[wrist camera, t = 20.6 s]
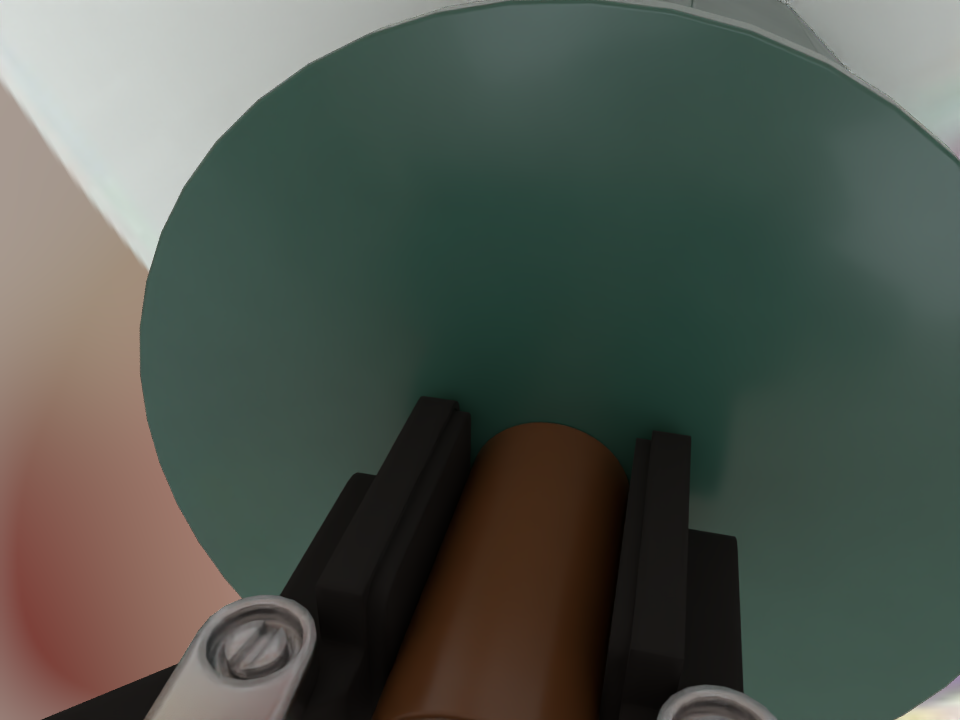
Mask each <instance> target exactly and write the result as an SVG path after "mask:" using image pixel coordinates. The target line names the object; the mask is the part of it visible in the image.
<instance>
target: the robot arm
mask: <svg viewBox="0 0 960 720" xmlns="http://www.w3.org/2000/svg"><path fill="white" fill-rule="evenodd" d="M470 453H471V415H470V413H469V412H463V411H460V407H459V403H458V402H457V401H454V400H447V399H441V398H434V397H427V396H421V397H420V398H419V400H418V401H417V403H416V405H415V407H414V408H413V410H412V412H411V414H410V416H409V417H408V419H407V421H406V423H405V425H404V426H403V428H402V430H401V432H400V434H399V435H398V437H397V439H396V441H395V443H394V444H393V446H392V448H391V450H390V452H389V453H388V455H387V457H386V459H385V461H384V462H383V464H382V466H381V468H380V470H379V471H378V473H377V475H371V474H365V473H359V472H357V473H355V474H353V475H352V476H351V478H350V479H349V480H348V482H347V483H346V485H345V487H344V488H343V490H342V492H341V493H340V495H339V497H338V498H337V500H336V502H335V503H334V505H333V507H332V509H331V510H330V512H329V514H328V515H327V517H326V519H325V520H324V522H323V524H322V525H321V527H320V529H319V530H318V532H317V534H316V535H315V537H314V539H313V540H312V542H311V544H310V545H309V547H308V549H307V550H306V552H305V554H304V555H303V557H302V559H301V560H300V562H299V564H298V565H297V567H296V569H295V571H294V572H293V574H292V576H291V577H290V579H289V581H288V582H287V584H286V586H285V587H284V589H283V591H282V592H281V594H280V596H279V595H258V596H252V597H247V598H242V599H240V600H238V601H235V602H233V603H231V604H228V605H226V606H224V607H223V608H221V609H220V610H219V611H217V612H216V613H214V614H213V615H212V616H210V617H209V619H208V620H207V621H206V622H205V623H204V625H203V626H202V627H201V628H200V629H199V631H198V632H197V634H196V636H195V637H194V639H193V641H192V642H191V644H190V645H189V647H188V649H187V650H186V652H185V654H184V655H183V657H182V658H181V660H180V662H179V663H178V664H176V665H173V666H171V667H169V668H166V669H164V670H161V671H159V672H156V673H154V674H152V675H149V676H147V677H144V678H142V679H139V680H137V681H135V682H132V683H130V684H127V685H125V686H122V687H120V688H117V689H115V690H113V691H110V692H108V693H105V694H103V695H101V696H98V697H96V698H93V699H91V700H88V701H86V702H83V703H82V704H79V705H76V706H74V707H71V708H69V709H67V710H64V711H62V712H59V713H57V714H54V715H52V716H49V717H47V718H45V719H42V720H371V719H372V716H373V714H374V711H375V709H376V706H377V704H378V701H379V699H380V696H381V694H382V691H383V689H384V686H385V684H386V681H387V679H388V676H389V674H390V671H391V669H392V666H393V664H394V661H395V659H396V656H397V654H398V651H399V649H400V646H401V644H402V641H403V639H404V636H405V634H406V631H407V629H408V626H409V624H410V621H411V619H412V616H413V614H414V611H415V609H416V606H417V604H418V601H419V599H420V596H421V594H422V591H423V589H424V586H425V584H426V581H427V579H428V576H429V574H430V571H431V569H432V566H433V564H434V561H435V559H436V556H437V554H438V551H439V549H440V546H441V544H442V541H443V539H444V536H445V534H446V531H447V529H448V526H449V524H450V521H451V519H452V516H453V514H454V511H455V509H456V506H457V504H458V501H459V499H460V496H461V494H462V491H463V489H464V486H465V484H466V481H467V479H468V476H469V474H470ZM690 465H691V436H688V435H681V434H675V433H668V432H661V431H655V430H653V432H652V437H651V440H647V439H641V438H636V444H635V451H634V458H633V465H632V472H631V479H630V486H629V493H628V500H627V508H626V516H625V523H624V531H623V538H622V546H621V553H620V561H619V569H618V576H617V584H616V591H615V599H614V607H613V614H612V622H611V629H610V637H609V644H608V652H607V660H606V667H605V675H604V682H603V690H602V697H601V705H600V713H599V720H777V719H776V718H775V717H774V716H773V714H772V713H771V712H770V711H769V710H768V709H767V708H766V707H765V706H763V705H762V704H760V703H759V702H757V701H756V700H754V699H753V698H751V697H750V696H748V695H746V694H744V688H743V664H742V640H741V615H740V591H739V567H738V546H737V539H736V537H735V536H729V535H723V534H717V533H712V532H706V531H700V530H694V529H688V526H689V495H690Z"/></svg>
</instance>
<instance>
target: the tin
mask: <svg viewBox="0 0 960 720" xmlns="http://www.w3.org/2000/svg"><path fill="white" fill-rule="evenodd" d="M654 1H663V2H671V3H676V4H679V5H683V6H687V7H690V8H694V9H698V10H702V11H705V12H709V13H713V14H716V15H720V16H724V17H727V18H731V19H735V20H738V21H742V22H746V23H749V24H752V25H754V26H757V27H759V28H761V29H764V30H766V31H768V32H771V33H773V34H775V35H777V36H780V37H782V38H784V39H787V40H789V41H791V42H794V43H796V44H798V45H801V46H803V47H805V48H807V49H810V50H812V51H814V52H817V53H819V54H821V55H824V56H825V57H827V58H828V59H830V60H832V61H833V62H835V63H836V64H838V65H840V66H841V67H843V68H844V69H846V68H845V67H844V65H843V64H842V63H841V62H840V61H839V60H838V59H837V58H836V57H835V55H834V54H833V53H832V52H831V51H830V50H829V49H828V48H827V47H826V46H825V44H824V43H823V42H822V41H821V40H820V39H819V38H818V36H817V35H816V34H815V33H814V32H813V31H812V30H811V29H810V28H809V27H808V26H807V24H806V23H805V22H804V21H803V20H802V19H801V18H800V17H799V16H798V15H797V13H796V12H795V11H794V10H793V9H792V8H789V6H788V5H787V4H785V3H783V2H781V1H779V0H654ZM846 70H847V69H846Z"/></svg>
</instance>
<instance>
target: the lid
mask: <svg viewBox="0 0 960 720" xmlns="http://www.w3.org/2000/svg"><path fill="white" fill-rule="evenodd" d="M140 377H141V383H142V390H143V396H144V402H145V408H146V409H145V410H146V416H147V421H148V425H149V428H150V432H151V435H152V439H153V442H154V446H155V449H156V453H157V456H158V459H159V463H160V465H161V467H162V470H163V472H164V475H165V477H166V479H167V482H168V484H169V486H170V488H171V491H172V493H173V495H174V498H175V500H176V503H177V505H178V506H179V508H180V510H181V512H182V514H183V515H184V517H185V519H186V521H187V522H188V524H189V526H190V528H191V529H192V531H193V533H194V535H195V537H196V538H197V540H198V542H199V543H200V545H201V546H202V547H203V549H204V550H205V552H206V553H207V555H208V556H209V557H210V558H211V560H212V561H213V563H214V564H215V565H216V567H217V568H218V569H219V571H220V573H221V574H222V575H223V577H224V578H225V579H226V581H227V582H228V583H229V584H230V585H231V586H232V587H233V589H235V591H236V592H237V593H238V594H239V595H240V596H241V598H247V597H252V596H258V595H279V596H280V594H281V592H282V591H283V589H284V587H285V586H286V584H287V582H288V581H289V579H290V577H291V576H292V574H293V572H294V571H295V569H296V567H297V565H298V564H299V562H300V560H301V559H302V557H303V555H304V554H305V552H306V550H307V549H308V547H309V545H310V544H311V542H312V540H313V539H314V537H315V535H316V534H317V532H318V530H319V529H320V527H321V525H322V524H323V522H324V520H325V519H326V517H327V515H328V514H329V512H330V510H331V509H332V507H333V505H334V503H335V502H336V500H337V498H338V497H339V495H340V493H341V492H342V490H343V488H344V487H345V485H346V483H347V482H348V480H349V479H350V478H351V476H352V475H353V474H355V473H357V472H359V473H365V474H371V475H377V473H378V471H379V470H380V468H381V466H382V464H383V462H384V461H385V459H386V457H387V455H388V453H389V452H390V450H391V448H392V446H393V444H394V443H395V441H396V439H397V437H398V435H399V434H400V432H401V430H402V428H403V426H404V425H405V423H406V421H407V419H408V417H409V416H410V414H411V412H412V410H413V408H414V407H415V405H416V403H417V401H418V400H419V398H420V397H421V396H427V397H434V398H441V399H447V400H454V401H457V402H458V403H459V407H460V411H463V412H469V413H470V415H471V453H470V474H469V476H468V479H467V481H466V484H465V486H464V489H463V491H462V494H461V496H460V499H459V501H458V504H457V506H456V509H455V511H454V514H453V516H452V519H451V521H450V524H449V526H448V529H447V531H446V534H445V536H444V539H443V541H442V544H441V546H440V549H439V551H438V554H437V556H436V559H435V561H434V564H433V566H432V569H431V571H430V574H429V576H428V579H427V581H426V584H425V586H424V589H423V591H422V594H421V596H420V599H419V601H418V604H417V606H416V609H415V611H414V614H413V616H412V619H411V621H410V624H409V626H408V629H407V631H406V634H405V636H404V639H403V641H402V644H401V646H400V649H399V651H398V654H397V656H396V659H395V661H394V664H393V666H392V669H391V671H390V674H389V676H388V679H387V681H386V684H385V686H384V689H383V691H382V694H381V696H380V699H379V701H378V704H377V706H376V709H375V711H374V714H373V716H372V719H371V720H599V713H600V705H601V697H602V690H603V682H604V675H605V667H606V660H607V652H608V644H609V637H610V629H611V622H612V614H613V607H614V599H615V591H616V584H617V576H618V569H619V561H620V553H621V546H622V538H623V531H624V523H625V516H626V508H627V500H628V493H629V486H630V479H631V472H632V465H633V458H634V451H635V444H636V438H641V439H647V440H651V437H652V432H653V430H655V431H661V432H668V433H675V434H681V435H688V436H691V465H690V495H689V526H688V529H694V530H700V531H706V532H712V533H717V534H723V535H729V536H735V537H736V539H737V546H738V567H739V591H740V615H741V640H742V664H743V688H744V694H746V695H748V696H750V697H751V698H753V699H754V700H756V701H757V702H759V703H760V704H762V705H763V706H765V707H766V708H767V709H768V710H769V711H770V712H771V713H772V714H773V716H774V717H775V718H776V719H777V720H895V719H897V718H899V717H901V716H903V715H905V714H906V713H908V712H909V711H911V710H912V709H914V708H915V707H917V706H918V705H920V704H921V703H923V702H924V701H926V700H927V699H929V698H930V697H932V696H933V695H935V694H936V693H938V692H939V691H941V690H942V689H944V688H945V687H946V686H947V685H949V684H950V683H951V682H952V681H953V680H954V679H955V678H957V677H958V676H959V675H960V160H959V159H958V157H957V156H956V155H955V154H954V153H953V152H952V151H951V150H950V148H949V147H948V146H947V145H946V144H944V143H943V142H942V141H941V140H940V139H939V138H937V137H936V136H935V135H934V134H933V133H932V132H930V131H929V130H928V129H927V128H926V127H925V126H923V125H922V124H921V123H920V122H919V121H918V120H916V119H915V118H914V117H913V116H912V115H911V114H909V113H908V112H907V111H906V110H905V109H904V108H902V107H901V106H900V105H899V104H898V103H897V102H895V101H894V100H893V99H892V98H891V97H890V96H888V95H886V94H885V93H883V92H881V91H880V90H878V89H877V88H875V87H873V86H872V85H870V84H869V83H867V82H865V81H864V80H862V79H861V78H859V77H857V76H856V75H854V74H853V73H851V72H849V71H848V70H846V69H844V68H843V67H841V66H840V65H838V64H836V63H835V62H833V61H832V60H830V59H828V58H827V57H825V56H824V55H821V54H819V53H817V52H814V51H812V50H810V49H807V48H805V47H803V46H801V45H798V44H796V43H794V42H791V41H789V40H787V39H784V38H782V37H780V36H777V35H775V34H773V33H771V32H768V31H766V30H764V29H761V28H759V27H757V26H754V25H752V24H749V23H746V22H742V21H738V20H735V19H731V18H727V17H724V16H720V15H716V14H713V13H709V12H705V11H702V10H698V9H694V8H690V7H687V6H683V5H679V4H676V3H671V2H663V1H654V0H484V1H478V2H472V3H466V4H460V5H454V6H448V7H444V8H441V9H438V10H435V11H432V12H429V13H426V14H423V15H419V16H416V17H413V18H410V19H407V20H404V21H401V22H398V23H395V24H391V25H388V26H385V27H382V28H380V29H378V30H375V31H373V32H371V33H369V34H367V35H365V36H363V37H361V38H359V39H357V40H355V41H353V42H351V43H349V44H347V45H345V46H343V47H341V48H339V49H337V50H335V51H333V52H331V53H329V54H327V55H325V56H323V57H321V58H319V59H317V60H315V61H313V62H311V63H309V64H307V65H306V66H305V67H303V68H302V69H300V70H299V71H298V72H296V73H295V74H293V75H292V76H291V77H289V78H288V79H286V80H285V81H284V82H282V83H281V84H279V85H278V86H277V87H275V88H274V89H272V90H271V91H270V92H268V93H267V94H265V95H264V96H263V97H261V98H260V99H258V100H257V101H256V102H255V103H254V104H253V105H252V106H251V107H250V108H249V109H248V110H247V111H246V112H245V113H244V114H243V115H242V116H241V117H240V118H239V119H238V120H237V121H236V122H235V123H234V124H233V125H232V126H231V127H230V128H229V129H228V130H227V131H226V132H225V133H224V134H223V135H222V136H221V137H220V138H219V139H218V140H217V141H216V142H215V144H214V145H213V146H212V148H211V149H210V151H209V152H208V153H207V155H206V156H205V158H204V159H203V160H202V162H201V163H200V165H199V166H198V167H197V169H196V170H195V172H194V173H193V174H192V176H191V177H190V179H189V180H188V181H187V183H186V184H185V186H184V187H183V189H182V191H181V193H180V195H179V198H178V200H177V202H176V204H175V206H174V208H173V210H172V212H171V214H170V216H169V218H168V220H167V222H166V224H165V226H164V228H163V230H162V232H161V235H160V238H159V242H158V245H157V248H156V251H155V255H154V258H153V261H152V265H151V268H150V271H149V274H148V278H147V281H146V288H145V295H144V302H143V309H142V317H141V324H140Z"/></svg>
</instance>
